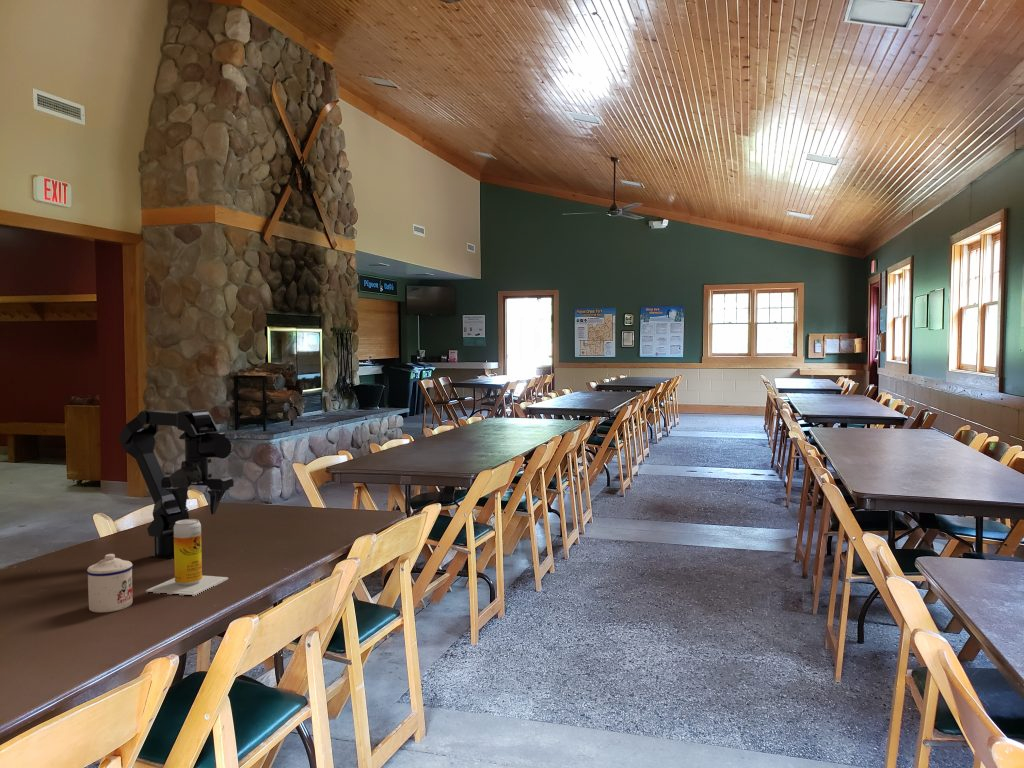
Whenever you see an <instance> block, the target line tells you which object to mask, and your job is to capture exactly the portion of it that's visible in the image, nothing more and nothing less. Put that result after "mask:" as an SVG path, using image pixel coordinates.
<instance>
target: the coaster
mask: <svg viewBox="0 0 1024 768" xmlns="http://www.w3.org/2000/svg"><path fill="white" fill-rule="evenodd" d="M228 580H229V577H227V576H217V575H216V576H214V575H203V574H202V579H201V580H200V582H199V583H197V584H194V585H188V586H180V585H178V584H177V583H176V582H175V577H173V578H171V579H168V580H166V581H164V582H162V583H160V584H157V585H155V586H152V587H149V588H148V589H145V593H148V592H153V593H152V594H160V593H167V594H166V595H172V594H179V595H178V596H184V595H192V596H191V597H196V596H198V595H200V594H201V592H202V593H203V591H204V592H206V591H208V590H210V589H212V588H214V587H216V586H218V585H220V584H221V583H224V582H225V581H228ZM213 586H214V587H213ZM211 587H212V588H211ZM209 588H210V589H209ZM207 589H208V590H207ZM205 590H206V591H205ZM199 593H200V594H199ZM197 594H198V595H197ZM195 595H196V596H195Z"/></svg>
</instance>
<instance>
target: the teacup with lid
mask: <svg viewBox="0 0 1024 768" xmlns="http://www.w3.org/2000/svg"><path fill="white" fill-rule="evenodd" d="M104 555H105V556H104V558H103V559H101V560H99V561H98V562H97V563H94V564H92V565H89V567H88V568H87V570H86V575H87V586H88V587H87V590H88V591H87V594H88V609H89V611H90V612H93V613H100V614H101V613H110V612H111V613H112V612H117V611H120V610H121V611H122V610H124V609H126V608H129V607H130V606H131V605H132V604H133V601H134V600H133V599H134V597H133V596H134V595H133V568H134V564H133V563H132V562H131V561H129V560H125V559H121V558H119V557H116V555H115V553H108V554H104Z"/></svg>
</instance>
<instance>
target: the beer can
mask: <svg viewBox="0 0 1024 768" xmlns="http://www.w3.org/2000/svg"><path fill="white" fill-rule="evenodd" d="M202 552H203V551H202V524H201V522H200V520H199V519H195V518H189V519H185V520H180V521H177V522H175V525H174V557H173V558H174V559H173V560H174V578H175V582H176V583H177V584H178V585H180V586H188V585H194V584H197V583H199V582H200V580H201V579H202V575H203V557H202V555H203V554H202Z"/></svg>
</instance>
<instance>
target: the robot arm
mask: <svg viewBox="0 0 1024 768" xmlns="http://www.w3.org/2000/svg"><path fill="white" fill-rule="evenodd" d="M209 412H210V411H209V410H208V409H205V408H203V409H192V410H183V411H172V410H161V409H156V408H154V409H153V408H151V409H143V410H141V411H139V412H138V414H137V416H136V417H134V418H132V420H130V421H129V422H127V423H126V424H125V425H124V427H123V428H122V430H121V431H120V433H119V435H118V440H119V443H120V444H121V446H122V448H123V450H124V451H125V452H126V453H127V454H128V455H130V456H131V457H132V458H134V459H135V461H136V463H137V466H138V467H139V470H140V473H141V475H142V477H143V480H144V482H145V484H146V487H147V489H148V491H149V493H150V496H151V498H152V500H153V503H154V505H153V510H152V517H153V520H152V522H151V523H150V524H149V525H148V527H147V533H148V536H149V537H153V539H154V541H153V543H154V554H151V555H150V558H153V559H154V558H158V559H169V560H170V559H173V558H174V525H175V522H177V521H180V520H185V519H190V513H189V508H188V506H187V500H188V489H189V488H190V486H205V487H208V488H209V490H206V491H207V493H208V494H209V495H208V496H209V499H210V500H209V504H210V505H209V507H210V508H209V509H210V514H211V515H212V516H213V515H215V514H216V512H217V510H218V507H219V504H220V503H221V500H222V499H223V497H224V495H225V493H226V492H227V491H228V490H230V488H232V487H234V479H233V478H232V476H229V475H220V476H214V477H212V475H213V474H212V473H209V464H210V463H212V459H226V458H227V457H228V456H229V455H230V454H231V452H232V446H233V445H232V443H231V441H230V439H229V438H227V437H226V433H225V432H220V430H219V427H218V426H217V424H216V423H215V420H214V419H213V417H212V416H211V414H210V413H209ZM159 426H168V427H175V428H177V430H178V431H182V432H183V433H182V434H180V436H179V437H178V439H180V440H184V460H182V461H181V462H180V464H181V465H180V468H179V469H177V470H175V471H174V472H173V473H171V474H170V475H166V476H165V475H164V472H163V470H162V467H161V465H160V463H159V461H158V458H157V456H156V453H155V451H154V450H155V447H156V438H155V437H156V435H157V434H158V432H159Z"/></svg>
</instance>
